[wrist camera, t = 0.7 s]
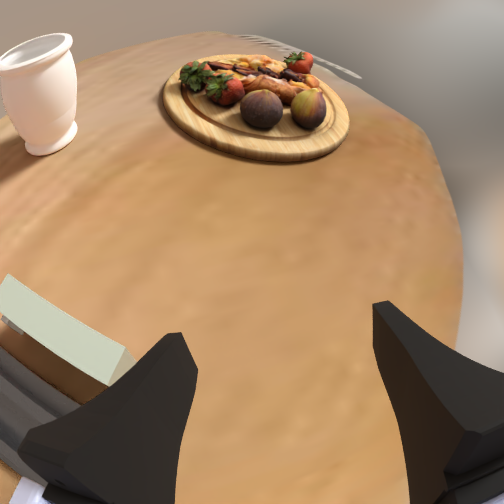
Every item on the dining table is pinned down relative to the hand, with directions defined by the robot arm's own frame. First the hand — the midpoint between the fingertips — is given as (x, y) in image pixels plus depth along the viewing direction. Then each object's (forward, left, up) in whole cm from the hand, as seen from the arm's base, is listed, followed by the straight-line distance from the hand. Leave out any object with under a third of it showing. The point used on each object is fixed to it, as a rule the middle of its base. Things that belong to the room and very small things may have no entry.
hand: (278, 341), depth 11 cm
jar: (+19, +36, -17) cm, 44 cm away
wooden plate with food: (+43, +12, -18) cm, 48 cm away
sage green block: (-3, +14, -17) cm, 22 cm away
